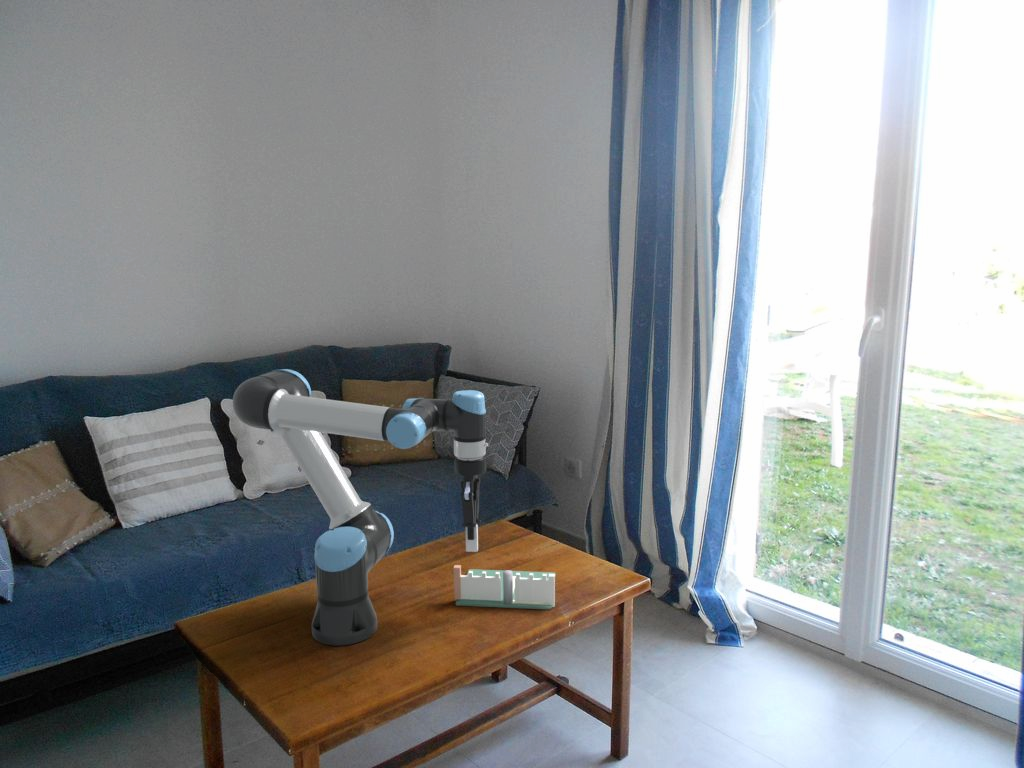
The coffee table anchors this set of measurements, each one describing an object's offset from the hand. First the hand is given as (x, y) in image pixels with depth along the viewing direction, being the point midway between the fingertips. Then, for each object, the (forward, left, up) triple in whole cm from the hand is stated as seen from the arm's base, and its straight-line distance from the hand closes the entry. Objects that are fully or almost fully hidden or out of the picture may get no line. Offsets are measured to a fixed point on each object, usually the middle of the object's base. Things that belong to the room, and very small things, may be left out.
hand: (472, 550), depth 181 cm
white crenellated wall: (0, +5, -15) cm, 16 cm away
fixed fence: (+13, +5, -16) cm, 22 cm away
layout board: (+7, +14, -16) cm, 22 cm away
